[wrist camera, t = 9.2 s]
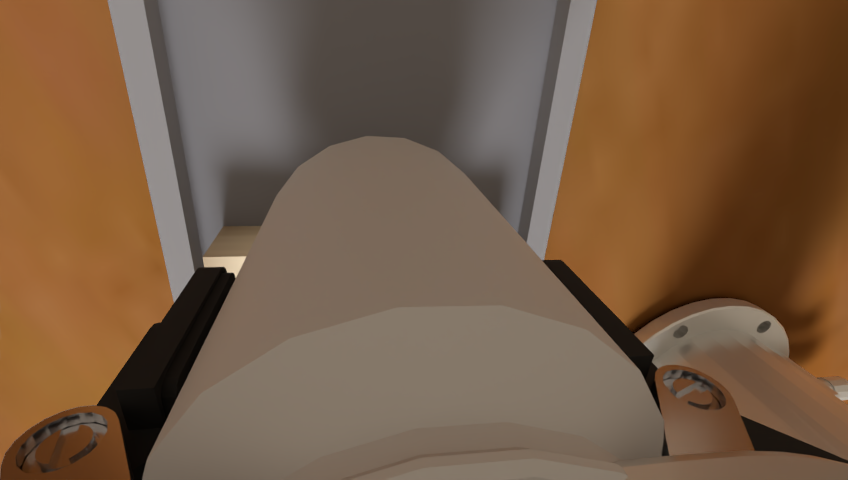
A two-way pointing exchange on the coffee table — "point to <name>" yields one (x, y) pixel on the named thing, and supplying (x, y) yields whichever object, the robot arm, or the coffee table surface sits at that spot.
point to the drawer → (344, 99)
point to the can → (401, 343)
